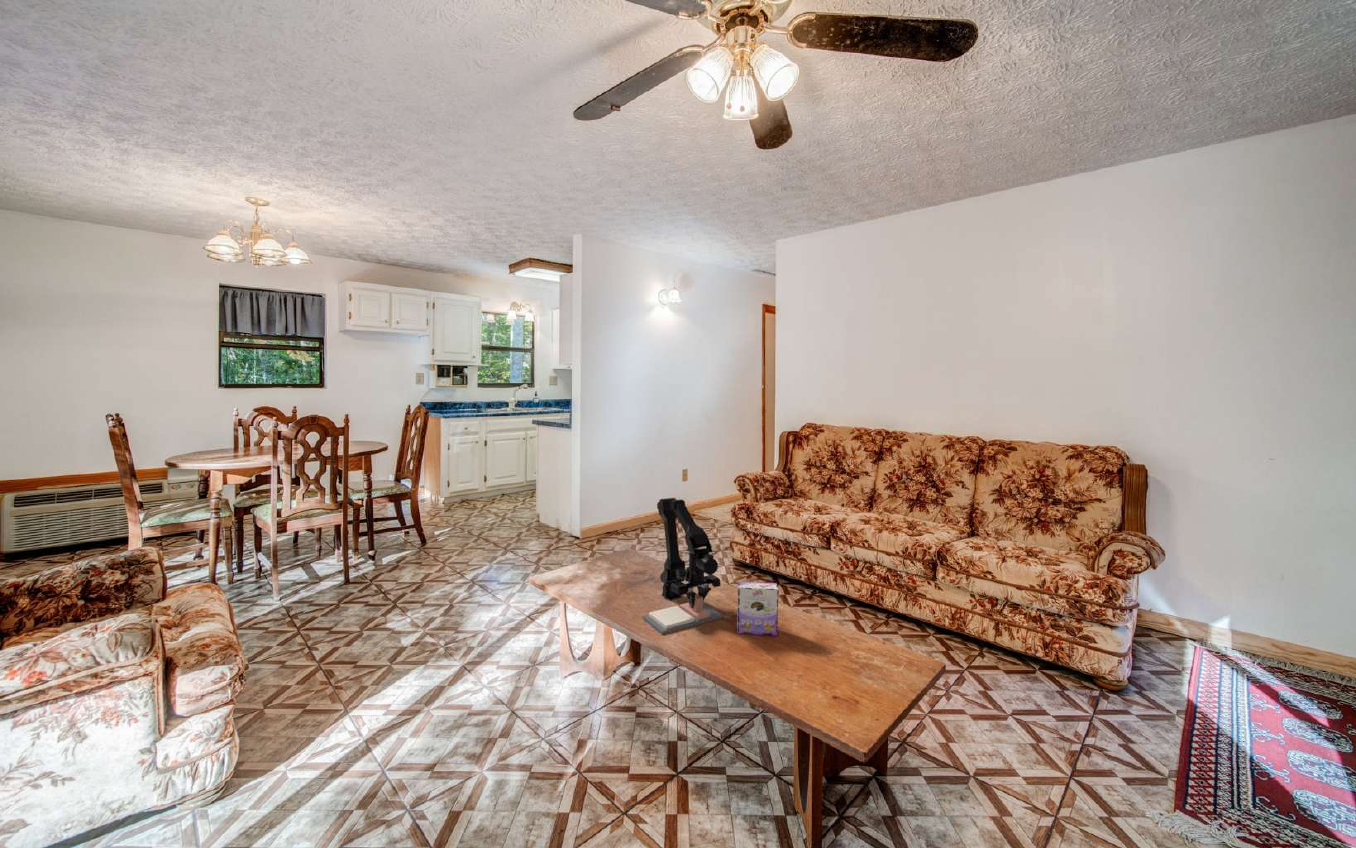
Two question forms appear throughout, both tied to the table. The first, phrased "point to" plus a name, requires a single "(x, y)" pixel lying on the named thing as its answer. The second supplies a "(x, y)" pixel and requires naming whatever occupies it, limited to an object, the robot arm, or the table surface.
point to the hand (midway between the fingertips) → (695, 607)
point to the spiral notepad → (671, 617)
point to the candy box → (757, 608)
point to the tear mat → (660, 629)
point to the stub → (696, 608)
